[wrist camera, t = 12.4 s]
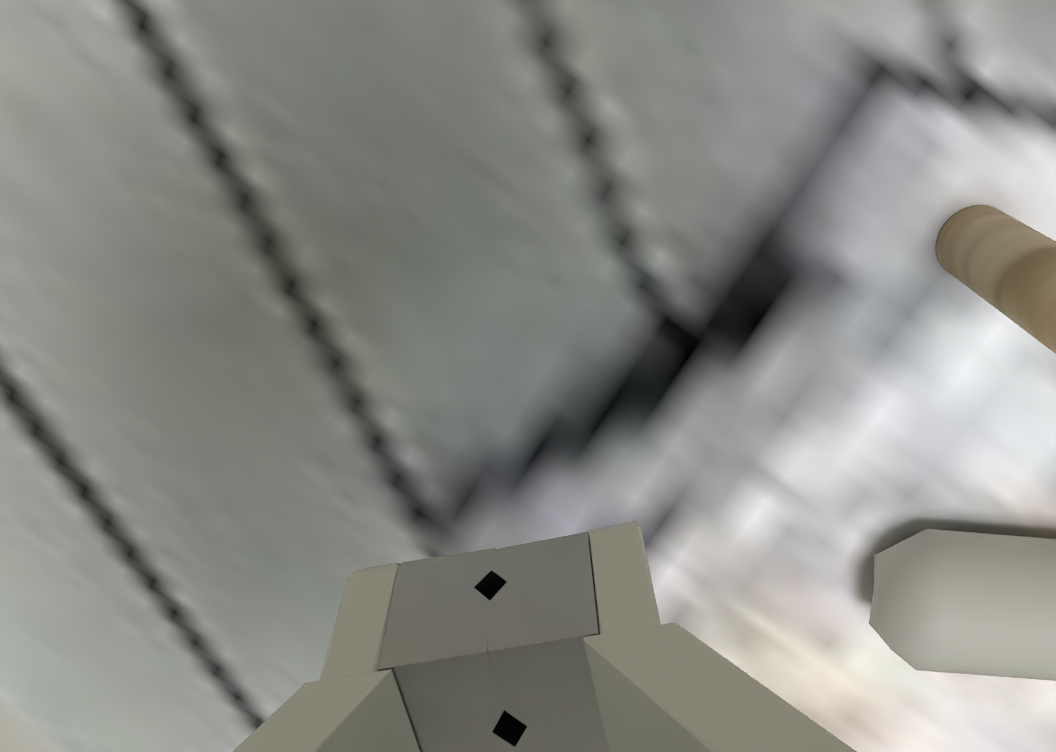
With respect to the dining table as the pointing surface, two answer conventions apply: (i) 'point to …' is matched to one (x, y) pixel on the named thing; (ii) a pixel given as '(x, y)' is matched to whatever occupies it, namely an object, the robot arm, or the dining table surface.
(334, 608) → the dining table surface
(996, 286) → the post
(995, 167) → the dining table surface
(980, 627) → the tube
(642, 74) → the dining table surface
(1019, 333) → the dining table surface
